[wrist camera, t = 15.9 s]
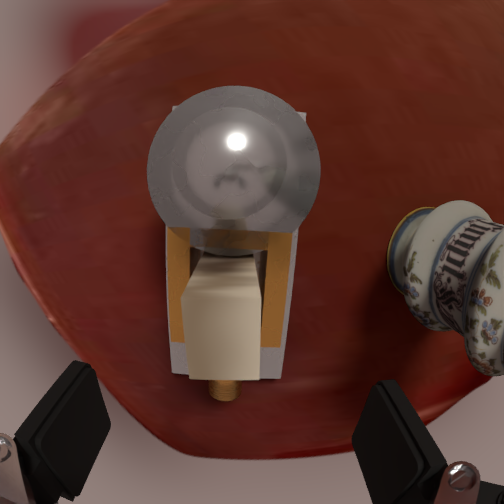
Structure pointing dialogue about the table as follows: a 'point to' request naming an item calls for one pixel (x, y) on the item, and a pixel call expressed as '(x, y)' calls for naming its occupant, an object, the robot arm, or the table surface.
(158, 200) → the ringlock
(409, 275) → the apothecary jar
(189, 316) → the cream rectangular block
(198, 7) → the table surface
